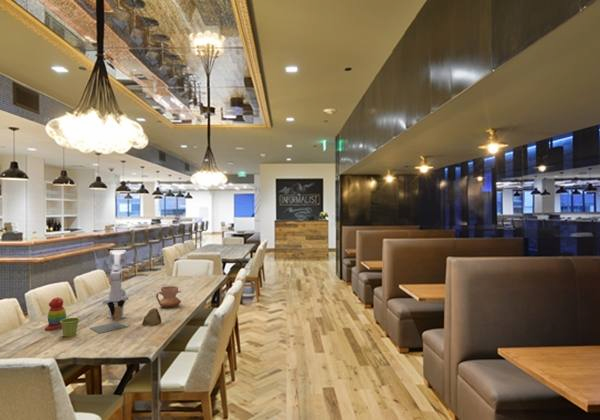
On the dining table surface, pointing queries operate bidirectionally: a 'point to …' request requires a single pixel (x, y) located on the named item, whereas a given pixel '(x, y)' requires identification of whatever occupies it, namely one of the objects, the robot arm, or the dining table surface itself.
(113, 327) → the rubber mat
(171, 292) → the ceramic jug
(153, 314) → the rock
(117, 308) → the walnut block
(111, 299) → the robot arm
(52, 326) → the stacking bear
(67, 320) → the plant pot
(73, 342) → the dining table surface
